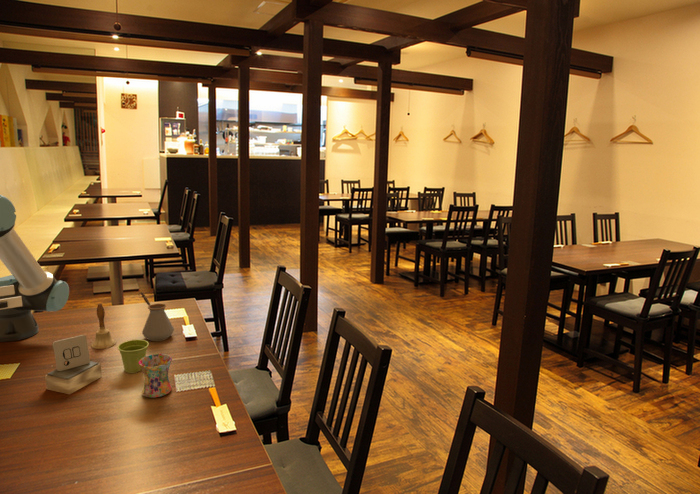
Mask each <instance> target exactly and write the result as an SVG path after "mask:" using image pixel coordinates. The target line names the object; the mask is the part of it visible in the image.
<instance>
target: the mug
mask: <svg viewBox="0 0 700 494" xmlns="http://www.w3.org/2000/svg"><path fill="white" fill-rule="evenodd" d="M172 360H173V357H172V356H171V355H169V354H166V353H152V354H149V355H146V357H144V358H142V359H141V360H140V361H139V366H140V367H141V369H142V371H141V372H142V374H143V379H144V382H143V383H144V384H143V387H142V390H141V393H142V395H143V396H144V397H146V398H160V397H164V396H166V395H168V394H169V393H170V392H171V391H172V389H173V386H172V384H171V383H170V379H169V370H170V366H171V364H172Z"/></svg>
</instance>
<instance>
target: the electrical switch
mask: <svg viewBox="0 0 700 494" xmlns="http://www.w3.org/2000/svg"><path fill="white" fill-rule="evenodd" d="M51 346H52V349H53V351H54V352H53V354H54V358H55V359H54V360H55V364H56V366H55V368H56V369H57V371H63V370H67V369H71V368H74V367H78V366H81V365H85V364H89V363H90V361H91V355H90V349H89V345H88V339H87V336H86V334H81V335H76V336H73V337H68V338H63V339H59V340H55V341H53V342H52V345H51ZM66 362H67V363H66Z"/></svg>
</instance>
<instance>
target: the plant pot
mask: <svg viewBox="0 0 700 494" xmlns="http://www.w3.org/2000/svg"><path fill="white" fill-rule="evenodd" d="M149 345H150V343H149V341H147V340H144V339H132V340H131V339H130V340H127V341H124V342H121V343H119V344H118V345H117V350H118V351H119V353H120V356H121V360H122V364H123V369H124V372H126V373H127V374H136V373H139V372H140V371H141V372H143V371H142V369H141V367H140V366H139V361H140V360H141V359H142V358H144V357H146V356H147V350H148V347H149Z"/></svg>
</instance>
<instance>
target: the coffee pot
mask: <svg viewBox="0 0 700 494" xmlns="http://www.w3.org/2000/svg"><path fill="white" fill-rule="evenodd" d="M138 295H140V296H141V298H143V300H144V302H145V303H146V304H147V305H148V307H147V309H148V310H149V314H148V316H147V319H146V322H145V324H144V327H143V330H142V331H141V332H142V335H143V337H145V338H146V339H148V340H149V341H151V342H162V341H165V340H167V339H169V338H170V336H172V335H173V333H174V331H175V328H174V326H173V324H172V322H171V320H170V319H169V317H168V315H167V313H166V311H165V308H166V307H167V304H164V303H154V304H151V302H150V300H149V299H148V297H146V295H145V293H144V292H142V291H141V292H140V293H138Z"/></svg>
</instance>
